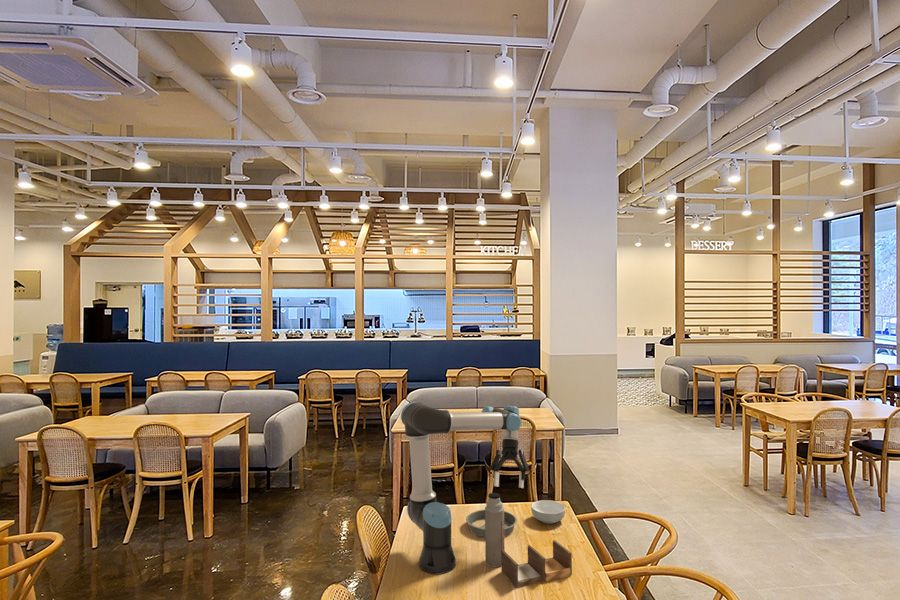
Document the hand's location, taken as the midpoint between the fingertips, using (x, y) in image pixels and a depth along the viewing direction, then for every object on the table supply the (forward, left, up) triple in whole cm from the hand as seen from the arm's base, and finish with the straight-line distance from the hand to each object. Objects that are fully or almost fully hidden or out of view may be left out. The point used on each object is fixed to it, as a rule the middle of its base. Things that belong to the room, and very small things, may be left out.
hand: (508, 487), depth 226 cm
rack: (-3, -30, -24) cm, 38 cm away
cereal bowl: (+28, +12, -24) cm, 39 cm away
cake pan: (-2, +15, -25) cm, 29 cm away
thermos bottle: (-15, -16, -24) cm, 32 cm away
